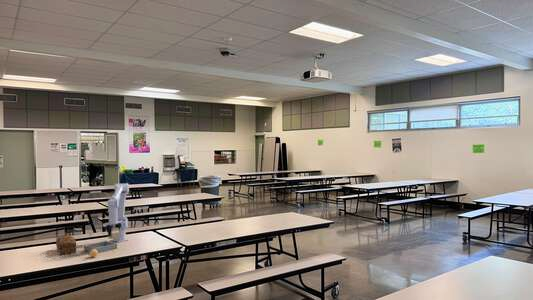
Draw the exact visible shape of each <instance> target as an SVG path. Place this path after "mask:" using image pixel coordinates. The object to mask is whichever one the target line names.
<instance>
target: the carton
mask: <svg viewBox="0 0 533 300" xmlns="http://www.w3.org/2000/svg"><path fill="white" fill-rule="evenodd" d="M107 237H108V239H110V240H113V239H115V238H119V228H117V227H113V226H112V229H111V236H108V235H107Z"/></svg>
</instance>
